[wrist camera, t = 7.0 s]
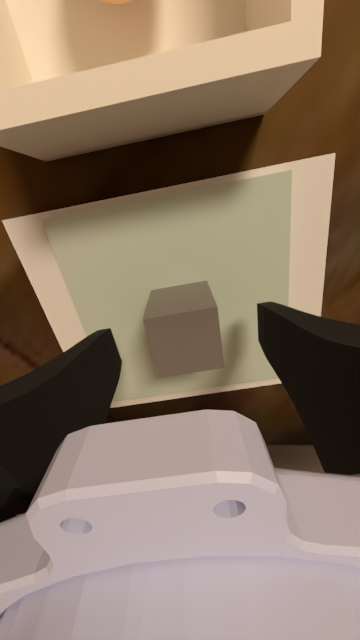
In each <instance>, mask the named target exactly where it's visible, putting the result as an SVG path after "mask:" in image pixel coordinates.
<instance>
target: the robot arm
mask: <svg viewBox="0 0 360 640" xmlns="http://www.w3.org/2000/svg"><path fill="white" fill-rule="evenodd" d="M257 319H258V341H259V343H260V346H261V348H262V350H263V353H264V355H265V357H266V358H267V360H268V362H269V363H270V365H271V367H272V368H273V370H274V371H275V373H276V375H277V376H278V378H279V379H280V381H281V382H282V384H283V386H284V387H285V389H286V390H287V392H288V394H289V396H290V397H291V399H292V401H293V403H294V405H295V407H296V409H297V411H298V413H299V415H300V417H301V420H302V422H303V424H304V426H305V428H306V430H307V433H308V435H309V437H310V439H311V441H312V444H313V446H314V448H315V451H316V453H317V455H318V458H319V460H320V462H321V465H322V467H323V469H324V472H325V473H321V472H312V471H301V470H292V469H282V468H274V466H273V464H272V461H271V459H270V456H269V453H268V450H267V448H266V445H265V442H264V440H263V437H262V435H261V433H260V431H259V429H258V427H257V424H256V422H254V421H252V420H250V419H248V418H246V417H245V416H243V415H241V414H239V413H237V412H235V411H228V410H209V409H206V410H199V411H192V412H184V413H177V414H170V415H163V416H156V417H149V418H142V419H135V420H128V421H120V422H113V423H106V424H105V422H106V418H107V415H108V412H109V409H110V406H111V403H112V400H113V397H114V394H115V391H116V388H117V385H118V382H119V378H120V373H121V366H122V360H121V357H120V354H119V351H118V348H117V345H116V343H115V340H114V337H113V334H112V331H111V328H108V329H102V330H98V331H95V332H94V333H92V334H90V335H89V336H87V337H86V338H84V339H83V340H81V341H80V342H78V343H77V344H75V345H74V346H72V347H71V348H70V349H68V350H67V351H65V352H63V353H62V354H60V355H59V356H57V357H56V358H54V359H53V360H51V361H49V362H48V363H46V364H44V365H43V366H41V367H39V368H37V369H35V370H33V371H32V372H30V373H28V374H26V375H24V376H22V377H19V378H17V379H15V380H13V381H11V382H9V383H6V384H4V385H2V386H0V640H360V325H358V324H352V323H346V322H341V321H336V320H332V319H327V318H324V317H320V316H316V315H313V314H309V313H306V312H303V311H300V310H297V309H294V308H291V307H288V306H285V305H282V304H279V303H275V302H271V301H269V302H263V303H257Z"/></svg>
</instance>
